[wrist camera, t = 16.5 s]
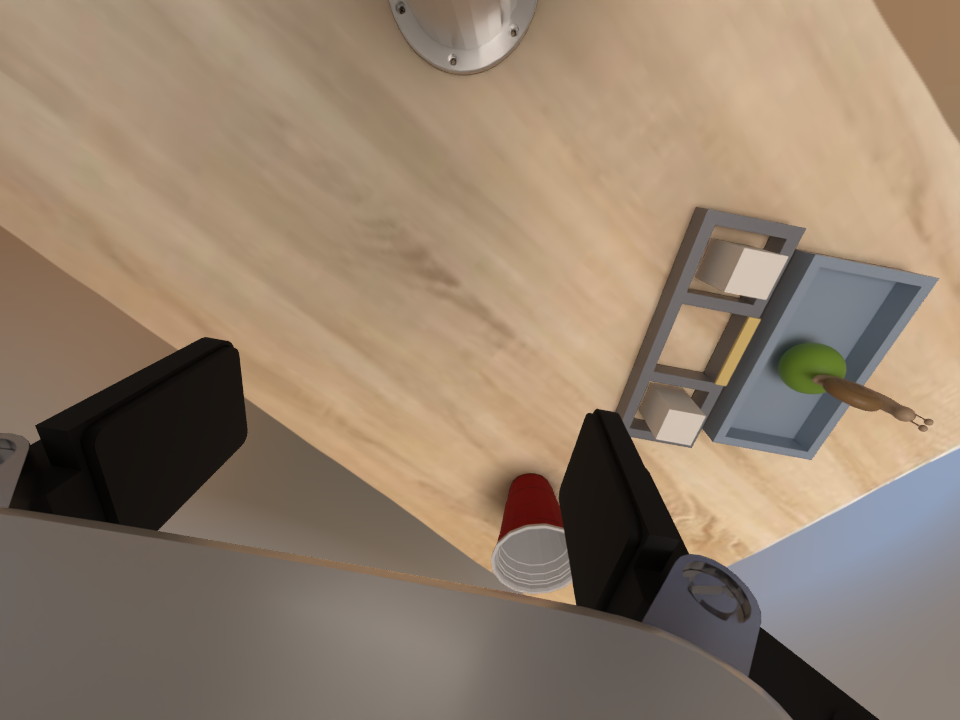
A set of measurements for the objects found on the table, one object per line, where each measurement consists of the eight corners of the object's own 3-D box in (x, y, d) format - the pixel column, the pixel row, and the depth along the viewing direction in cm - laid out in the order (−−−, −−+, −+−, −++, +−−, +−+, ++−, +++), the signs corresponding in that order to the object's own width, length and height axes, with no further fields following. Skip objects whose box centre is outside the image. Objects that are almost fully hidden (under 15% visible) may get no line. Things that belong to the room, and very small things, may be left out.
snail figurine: (810, 385, 44) (909, 452, 33) (757, 373, 44) (840, 436, 33) (839, 343, 42) (956, 400, 31) (783, 329, 41) (882, 383, 31)
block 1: (650, 382, 46) (669, 409, 41) (682, 388, 46) (706, 415, 41) (638, 409, 48) (655, 439, 43) (669, 415, 48) (690, 445, 43)
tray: (790, 248, 39) (815, 254, 36) (904, 270, 39) (939, 278, 36) (699, 424, 48) (713, 441, 45) (791, 441, 49) (811, 459, 45)
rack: (696, 207, 38) (709, 209, 35) (788, 225, 38) (808, 228, 35) (611, 422, 49) (617, 435, 46) (683, 435, 49) (692, 449, 47)
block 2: (711, 238, 39) (744, 248, 34) (749, 245, 39) (788, 256, 34) (695, 276, 41) (724, 291, 35) (731, 283, 41) (766, 300, 35)
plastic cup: (585, 494, 54) (605, 572, 44) (524, 526, 58) (528, 606, 47) (540, 444, 51) (550, 516, 40) (478, 481, 55) (471, 556, 44)
